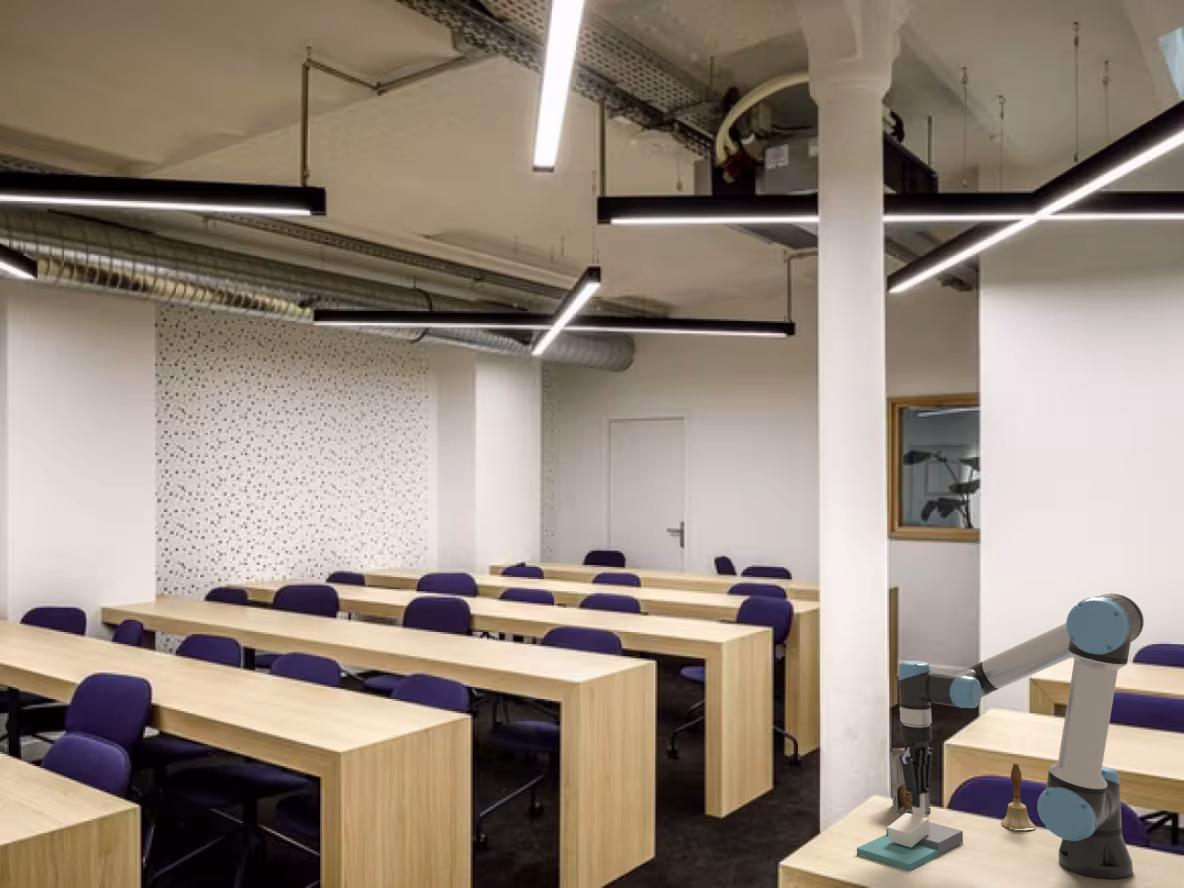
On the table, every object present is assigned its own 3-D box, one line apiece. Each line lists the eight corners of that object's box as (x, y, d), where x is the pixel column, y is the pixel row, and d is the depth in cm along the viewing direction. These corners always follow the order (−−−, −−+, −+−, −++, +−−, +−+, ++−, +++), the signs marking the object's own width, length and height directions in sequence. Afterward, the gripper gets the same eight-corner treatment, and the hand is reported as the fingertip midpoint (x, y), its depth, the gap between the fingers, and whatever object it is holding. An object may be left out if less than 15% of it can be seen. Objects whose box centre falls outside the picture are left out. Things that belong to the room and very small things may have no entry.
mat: (938, 855, 220) (938, 849, 220) (909, 870, 211) (909, 864, 211) (886, 840, 230) (886, 834, 230) (856, 854, 222) (856, 847, 222)
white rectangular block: (930, 832, 226) (928, 818, 226) (911, 847, 220) (909, 833, 220) (907, 825, 230) (906, 812, 230) (889, 840, 224) (887, 827, 224)
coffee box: (924, 805, 256) (922, 747, 257) (931, 813, 250) (928, 753, 251) (891, 805, 257) (889, 747, 258) (897, 813, 251) (894, 753, 252)
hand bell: (1004, 818, 245) (1001, 758, 246) (1038, 824, 240) (1035, 763, 241) (997, 827, 238) (994, 765, 240) (1032, 834, 234) (1029, 770, 235)
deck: (963, 843, 228) (962, 830, 228) (939, 855, 220) (938, 842, 220) (911, 828, 238) (911, 817, 239) (886, 840, 230) (886, 828, 231)
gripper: (915, 717, 237) (919, 809, 235) (888, 725, 229) (891, 821, 227) (942, 722, 231) (946, 817, 230) (915, 730, 223) (919, 829, 221)
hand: (919, 819), depth 228 cm, fingers closed
